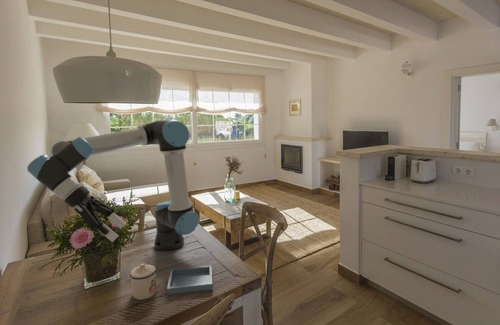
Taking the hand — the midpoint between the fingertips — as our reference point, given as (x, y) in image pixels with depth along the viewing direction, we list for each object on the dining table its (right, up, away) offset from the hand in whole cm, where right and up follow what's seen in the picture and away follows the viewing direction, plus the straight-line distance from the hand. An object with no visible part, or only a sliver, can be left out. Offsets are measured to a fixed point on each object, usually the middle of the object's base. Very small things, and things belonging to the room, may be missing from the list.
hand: (119, 232), depth 101 cm
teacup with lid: (+8, -24, +5) cm, 25 cm away
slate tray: (+24, -23, +9) cm, 34 cm away
